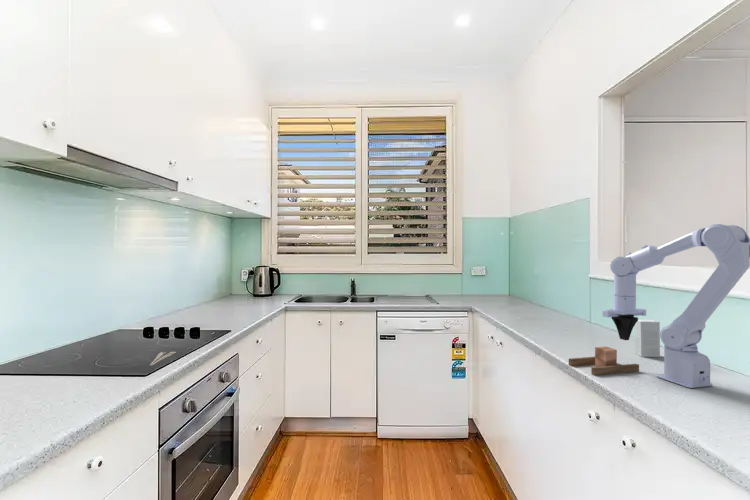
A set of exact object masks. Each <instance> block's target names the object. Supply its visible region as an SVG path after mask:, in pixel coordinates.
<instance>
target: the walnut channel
mask: <svg viewBox="0 0 750 500" xmlns="http://www.w3.org/2000/svg"><path fill="white" fill-rule="evenodd" d="M585 365H586V366H587V365H595V356H584V357H573V358H572V357H571V358H568V366H570V367H573V366H575V367H576V366H585ZM590 370H591V374H590V375H592V376H601V375H613V374H614V375H615V374H623V373H635V372H640V364H638V363H629V364H628V363H627V364H621V363H618V362H617V365H614V366H602V367H595V366H592V367H591V369H590Z"/></svg>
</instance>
